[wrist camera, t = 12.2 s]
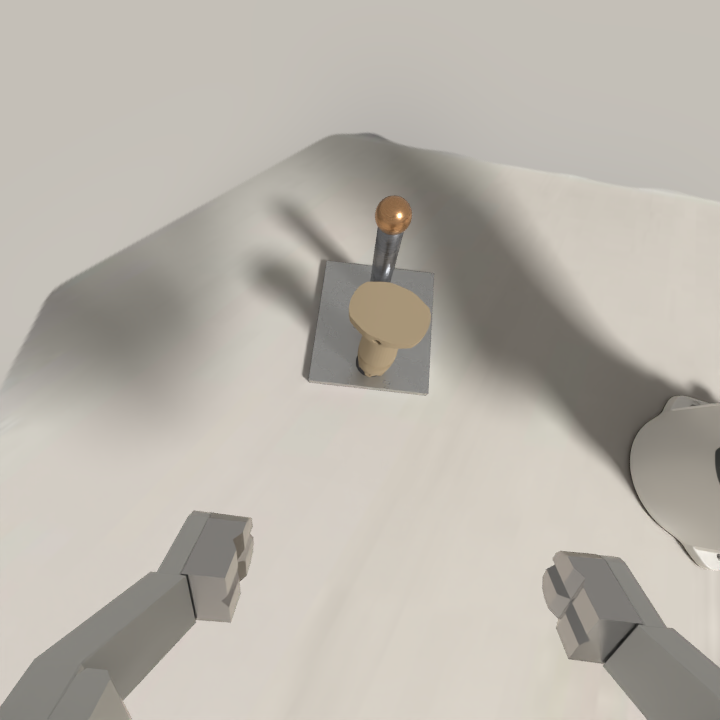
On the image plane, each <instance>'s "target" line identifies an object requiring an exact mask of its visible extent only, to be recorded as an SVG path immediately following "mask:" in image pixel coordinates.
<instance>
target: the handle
mask: <svg viewBox="0 0 720 720" xmlns="http://www.w3.org/2000/svg"><path fill="white" fill-rule="evenodd" d="M349 319H350V322H351V323H352V325H353V326H354V327H355V328H356V329H357V330H358V331H359V333H360V334H361V335H362V338H361V340H360V343H359V347H358V361H359V367H360V368H361V369H362V370H363V371H364V373H365V376H367V377H371V376H381V375H383V374H384V373H385V371H386V370H388V369H389V367H390V366H391V365H392V364H393V362H394V360H395V358H396V355H397V352H398V349H406V348H412V347H414V346H416V345H417V344H418V343H419V342H420V341H421V340H422V338H423V337H424V336H425V334H426V332H427V330H428V328H429V325H430V321H431V313H430V309H429V307H428V306H427V305H426V304H425V303H424V302H423V301H422V300H421V299H420V298H419V297H418V296H417V295H416V294H414V293H413V292H411V291H410V290H408V289H405V288H403V287H401V286H398V285H396V284H393V283H390V282H366V283H364V284H362V285H361V286H359V287H358V288H357V290H356V291H355V292H354V294H353V296H352V298H351V300H350V304H349Z"/></svg>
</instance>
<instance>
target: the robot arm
mask: <svg viewBox="0 0 720 720" xmlns="http://www.w3.org/2000/svg"><path fill="white" fill-rule="evenodd" d="M630 470H631V476H632V480H633V484H634V487H635V489H636V492H637V494H638V496H639V498H640V500H641V502H642V504H643V505H644V507H645V508H646V510H647V511H648V513H649V514H650V515H651V516H652V517H653V519H654V520H655V521H656V522H657V523H658V524H659V525H660V526H661V527H663V528H664V529H665V530H666V531H668V532H669V533H670V534H671V535H673V536H674V537H675V538H677V539H678V540H679V541H680V542H681V543H682V544H683V546H684V547H685V549H686V550H687V552H688V553H689V555H690V556H691V558H692V559H693V560H694V561H695V563H696V564H697V565H698V566H700V567H701V568H703V569H708V570H714V571H717V570H720V403H714V404H711V403H708V402H704V401H701V400H698V399H694V398H691V397H688V396H674V397H672V398H670V399H669V401H668V402H667V404H666V405H665V407H664V409H663V411H662V413H661V414H660V415H658V416H657V417H655V418H654V419H652V420H651V421H649V422H648V423H646V424H645V425H644V426H643V427H642V428H641V429H640V431H639V432H638V434H637V435H636V437H635V439H634V442H633V445H632V448H631V454H630ZM252 527H253V524H252V518H249V517H241V516H234V515H226V514H218V513H211V512H202V511H193V512H192V513H191V514H190V515H189V516H188V518H187V519H186V521H185V523H184V525H183V526H182V528H181V530H180V532H179V534H178V535H177V537H176V539H175V541H174V542H173V544H172V546H171V548H170V550H169V551H168V553H167V555H166V557H165V558H164V560H163V562H162V564H161V565H160V567H159V569H158V571H157V572H150V573H148V574H147V575H146V576H144V577H143V578H142V579H140V580H139V581H138V582H136V583H135V584H134V585H132V586H131V587H130V588H128V589H127V590H126V591H124V592H123V593H122V594H120V595H119V596H118V597H116V598H115V599H114V600H112V601H111V602H110V603H108V604H107V605H106V606H104V607H103V608H102V609H101V610H99V611H98V612H97V613H95V614H94V615H93V616H91V617H90V618H89V619H87V620H86V621H85V622H83V623H82V624H81V625H79V626H78V627H77V628H75V629H74V630H73V631H71V632H70V633H69V634H67V635H66V636H65V637H63V638H62V639H61V640H59V641H58V642H57V643H55V644H54V645H53V646H51V647H50V648H49V649H47V650H46V651H45V652H43V653H42V654H41V655H39V656H38V657H37V658H36V659H34V661H33V662H32V663H31V665H30V666H29V668H28V669H27V670H26V672H25V673H24V674H23V676H22V677H21V679H20V680H19V681H18V683H17V684H16V686H15V687H14V688H13V690H12V691H11V693H10V694H9V695H8V697H7V698H6V700H5V701H4V702H3V704H2V705H1V707H0V720H132V718H131V716H130V714H129V712H128V710H127V708H126V706H125V704H124V702H123V700H124V699H125V698H126V697H127V696H128V695H129V694H130V693H131V691H132V690H133V689H134V688H135V687H136V686H137V685H138V684H139V683H140V682H141V681H142V680H143V679H144V677H145V676H146V675H147V674H148V673H149V672H150V671H151V670H152V669H153V668H154V667H155V666H156V665H157V664H158V662H159V661H160V660H161V659H162V658H163V657H164V656H165V655H166V654H167V653H168V652H169V651H170V650H171V648H172V647H173V646H174V645H175V644H176V643H177V642H178V641H179V640H180V639H181V638H182V637H183V636H184V635H185V633H186V632H187V631H188V630H189V629H190V628H191V627H192V626H193V625H194V624H195V623H196V620H205V621H218V622H231V621H232V618H233V615H234V612H235V609H236V606H237V603H238V600H239V597H240V594H241V593H240V581H241V580H242V579H243V578H244V577H246V576H247V573H248V569H249V566H250V563H251V558H252V553H253V545H254V541H253V536H252V535H251V534H250V532H251V529H252ZM717 554H718V558H717ZM553 561H554V563H555V565H553V566H552V567H550V568H548V569H546V571H545V573H544V575H543V582H542V589H543V594H544V598H545V601H546V603H547V606H548V608H549V610H550V611H551V612H552V613H553V614H554V615H555V616H556V617H557V618H558V622H557V626H556V629H557V632H558V634H559V637H560V639H561V642H562V644H563V647H564V649H565V652H566V654H567V657H568V659H572V660H579V661H587V662H594V663H601V664H604V665H603V667H604V668H605V669H606V670H607V671H608V673H609V674H610V675H611V676H612V677H613V679H614V680H615V681H616V682H617V684H618V685H619V686H620V687H621V688H622V690H623V691H624V692H625V693H626V694H627V696H628V697H629V698H630V699H631V700H632V702H633V703H634V704H635V705H636V707H637V708H638V709H639V710H640V711H641V713H642V714H643V715H644V716H645V717H646V719H647V720H720V668H719V667H718V666H717V665H716V664H714V663H713V662H712V661H711V660H710V659H709V658H707V657H706V656H705V655H704V654H703V653H701V652H700V651H699V650H698V649H697V648H696V647H694V646H693V645H692V644H691V643H690V642H688V641H687V640H686V639H685V638H684V637H683V636H681V635H680V634H679V633H678V632H677V631H676V630H674V629H673V628H667V627H666V625H665V624H664V622H663V621H662V619H661V618H660V616H659V614H658V613H657V611H656V610H655V608H654V607H653V605H652V604H651V602H650V600H649V599H648V597H647V596H646V594H645V593H644V591H643V590H642V588H641V586H640V585H639V583H638V582H637V580H636V579H635V577H634V576H633V574H632V572H631V571H630V569H629V568H628V566H627V565H626V563H625V562H624V561H623V560H622V559H620V558H619V557H614V556H602V555H597V554H589V553H578V552H567V551H559V552H557V553H556V554H555V555H554V557H553Z"/></svg>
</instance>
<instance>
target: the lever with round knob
mask: <svg viewBox="0 0 720 720" xmlns="http://www.w3.org/2000/svg"><path fill="white" fill-rule="evenodd" d="M411 219H412V210H411V207H410V205H409V203H408V202H407V201H406V200H405V199H404V198H402V197H400V196H395V195H394V196H388V197H386V198H384V199H383V200H382V201H381V202H380V203H379V204H378V206H377V208H376V212H375V220H376V224H377V226H378V230H377V237H376V244H375V251H374V258H373V264H372V271H371V278H370V282H390V283H391V279H392V275H393V271H394V267H395V263H396V260H397V256H398V252H399V248H400V244H401V240H402V236H403V232H404V231H405V230H406V229H407V228H408V226H409V225H410V222H411Z"/></svg>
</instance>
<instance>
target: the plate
mask: <svg viewBox="0 0 720 720" xmlns="http://www.w3.org/2000/svg"><path fill="white" fill-rule="evenodd" d="M371 271H372V266H368V265H359V264H351V263H342V262H334V261H327V263H326V269H325V276H324V282H323V289H322V295H321V302H320V308H319V315H318V321H317V328H316V334H315V341H314V347H313V354H312V360H311V367H310V373H309V382H310V383H319V384H327V385H336V386H345V387H354V388H363V389H371V390H380V391H389V392H398V393H407V394H415V395H424V396H426V395H427V394H428V388H429V368H430V347H431V326H432V305H433V284H434V273H427V272H418V271H410V270H401V269H394V271H393V275H392V279H391V283H393V284H396V285H398V286H401V287H403V288H405V289H408V290H410V291H411V292H413V293H414V294H416V295H417V296H418V297H419V298H420V299H421V300H422V301H423V302H424V303H425V304H426V305H427V306H428V307H429V309H430V313H431V321H430V325H429V328H428V330H427V332H426V334H425V336H424V337H423V338H422V340H421V341H420V342H419V343H418V344H417V345H416V346H414V347H412V348H406V349H398V352H397V355H396V358H395V360H394V362H393V364H392V365H391V366H390V367H389V369H388V370H386V371H385V373H384V374H383V375H381V376H371V377H367V376H365V373H364V371H363V370H362V369H361V368H360V367H359V361H358V347H359V343H360V340H361V338H362V335H361V334H360V333H359V331H358V330H357V329H356V328H355V327H354V326H353V325H352V323H351V322H350V319H349V304H350V300H351V298H352V296H353V294H354V292H355V291H356V290H357V288H358V287H359V286H361V285H362V284H364V283H366V282H370V278H371Z"/></svg>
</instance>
